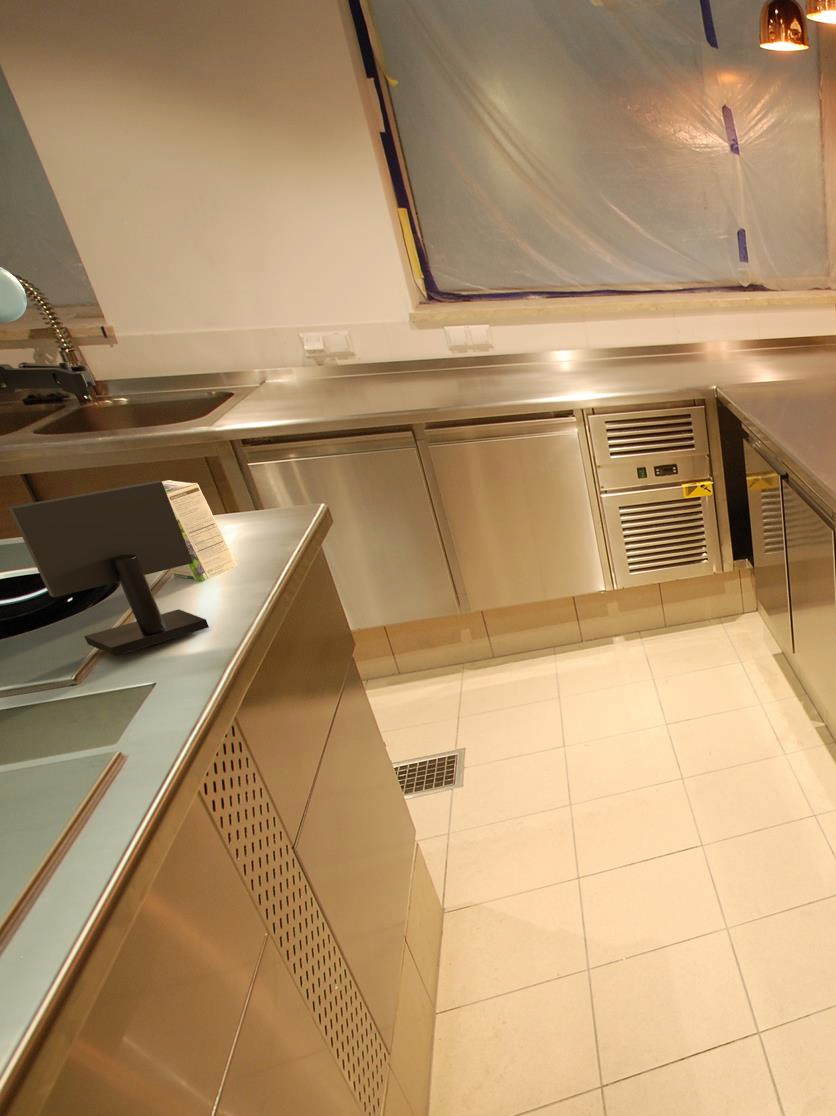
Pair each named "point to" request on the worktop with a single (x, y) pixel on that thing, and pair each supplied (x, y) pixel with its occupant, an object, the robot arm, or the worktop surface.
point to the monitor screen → (100, 535)
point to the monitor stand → (142, 615)
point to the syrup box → (198, 533)
